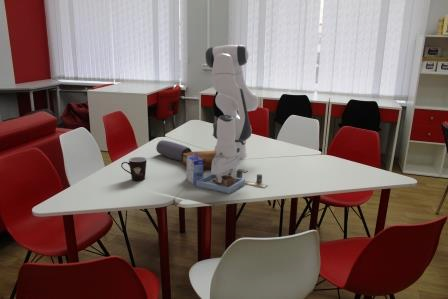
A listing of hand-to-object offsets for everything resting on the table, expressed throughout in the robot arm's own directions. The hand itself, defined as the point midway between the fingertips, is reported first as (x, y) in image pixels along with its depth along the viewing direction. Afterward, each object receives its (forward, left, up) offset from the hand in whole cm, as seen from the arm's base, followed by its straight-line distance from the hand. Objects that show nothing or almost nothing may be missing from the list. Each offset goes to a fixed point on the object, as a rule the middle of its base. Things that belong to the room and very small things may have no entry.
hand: (225, 179), depth 180 cm
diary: (-26, +23, -3) cm, 34 cm away
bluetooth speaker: (-48, +23, -4) cm, 54 cm away
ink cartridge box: (-17, -1, -4) cm, 17 cm away
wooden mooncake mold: (0, 0, -3) cm, 3 cm away
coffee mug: (-43, -14, -4) cm, 46 cm away
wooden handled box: (+12, +13, -4) cm, 18 cm away
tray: (-2, 0, -4) cm, 4 cm away
